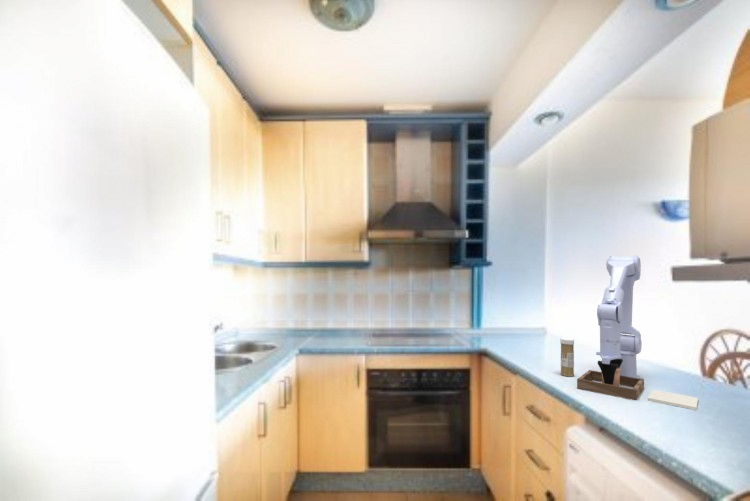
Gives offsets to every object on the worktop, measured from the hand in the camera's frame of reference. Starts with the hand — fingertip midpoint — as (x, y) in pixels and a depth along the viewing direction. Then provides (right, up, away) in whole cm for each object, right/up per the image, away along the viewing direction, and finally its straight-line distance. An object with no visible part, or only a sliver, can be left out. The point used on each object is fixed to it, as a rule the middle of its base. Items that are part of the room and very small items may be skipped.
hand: (610, 382), depth 123 cm
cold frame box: (0, -2, 0) cm, 2 cm away
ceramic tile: (+12, -2, -11) cm, 16 cm away
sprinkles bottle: (-6, -3, +15) cm, 17 cm away
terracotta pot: (0, -2, 0) cm, 2 cm away
